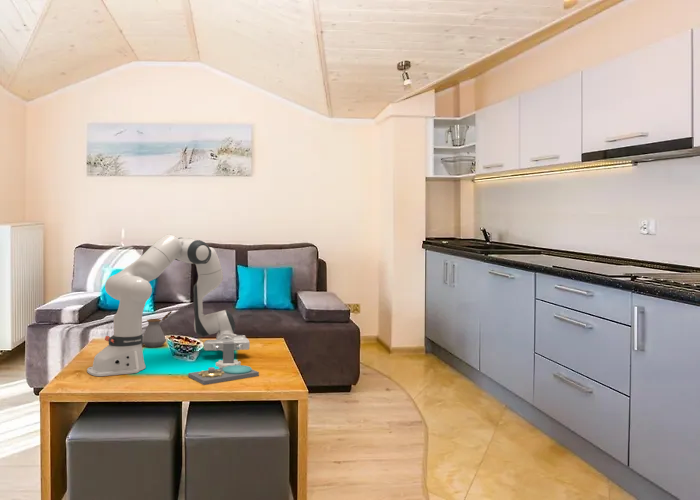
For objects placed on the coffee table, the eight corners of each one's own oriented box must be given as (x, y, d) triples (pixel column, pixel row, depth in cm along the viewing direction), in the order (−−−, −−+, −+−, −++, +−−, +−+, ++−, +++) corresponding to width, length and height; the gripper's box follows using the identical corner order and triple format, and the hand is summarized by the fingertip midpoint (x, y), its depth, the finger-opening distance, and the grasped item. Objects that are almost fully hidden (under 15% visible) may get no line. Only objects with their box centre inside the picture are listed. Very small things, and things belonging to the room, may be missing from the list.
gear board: (204, 384, 232) (204, 374, 232) (188, 376, 243) (188, 366, 242) (258, 375, 247) (258, 365, 247) (241, 368, 258) (241, 359, 258)
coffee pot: (157, 349, 291) (157, 318, 290) (136, 347, 294) (136, 316, 294) (181, 340, 312) (181, 311, 311) (161, 339, 315) (162, 310, 314)
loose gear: (216, 368, 257) (216, 345, 256) (215, 363, 267) (216, 340, 266) (241, 368, 259) (241, 344, 258) (239, 362, 269) (240, 339, 269)
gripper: (203, 335, 280) (203, 341, 267) (248, 335, 285) (250, 341, 272) (203, 349, 281) (203, 356, 267) (248, 348, 285) (250, 355, 272)
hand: (227, 348), depth 269 cm, fingers open, 8 cm apart
